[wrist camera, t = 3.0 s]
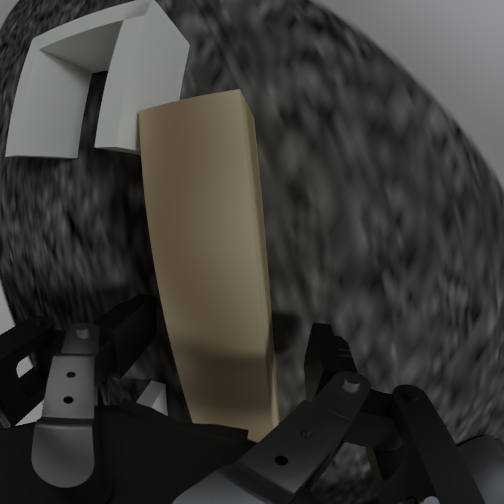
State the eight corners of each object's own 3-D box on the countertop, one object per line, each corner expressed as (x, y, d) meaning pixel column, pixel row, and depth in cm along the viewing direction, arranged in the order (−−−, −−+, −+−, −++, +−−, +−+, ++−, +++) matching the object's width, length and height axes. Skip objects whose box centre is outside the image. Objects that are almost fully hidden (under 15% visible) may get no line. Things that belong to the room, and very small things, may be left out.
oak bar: (254, 119, 11) (240, 89, 8) (280, 438, 15) (276, 487, 11) (180, 130, 12) (138, 110, 8) (227, 437, 16) (215, 483, 12)
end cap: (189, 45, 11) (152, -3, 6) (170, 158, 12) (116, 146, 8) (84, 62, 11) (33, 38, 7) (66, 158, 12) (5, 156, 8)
